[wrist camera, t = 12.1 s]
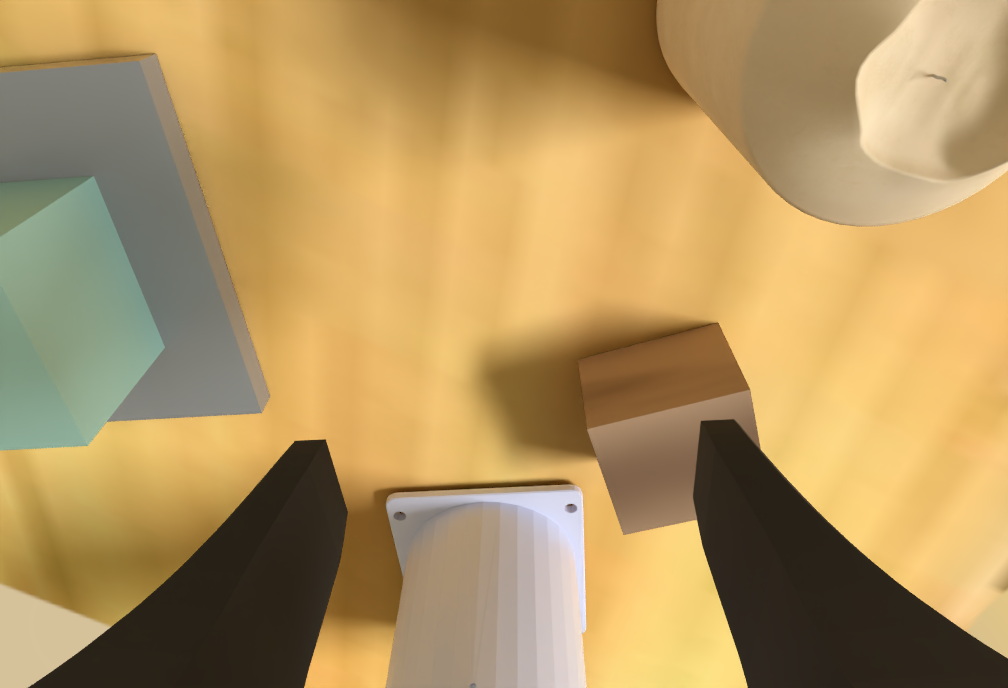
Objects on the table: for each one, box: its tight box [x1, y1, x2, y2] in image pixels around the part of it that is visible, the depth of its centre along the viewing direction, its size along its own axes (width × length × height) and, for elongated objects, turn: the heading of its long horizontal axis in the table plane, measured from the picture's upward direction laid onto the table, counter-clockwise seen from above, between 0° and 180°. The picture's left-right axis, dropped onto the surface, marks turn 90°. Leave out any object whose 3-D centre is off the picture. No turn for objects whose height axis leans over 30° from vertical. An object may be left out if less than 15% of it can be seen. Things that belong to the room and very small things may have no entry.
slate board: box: [0, 54, 270, 422], centre depth 22 cm, size 12×9×1 cm
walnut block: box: [578, 323, 761, 535], centre depth 24 cm, size 5×5×4 cm
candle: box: [656, 0, 1008, 226], centre depth 14 cm, size 6×6×10 cm
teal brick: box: [0, 176, 165, 450], centre depth 20 cm, size 6×4×5 cm, turn 5°
